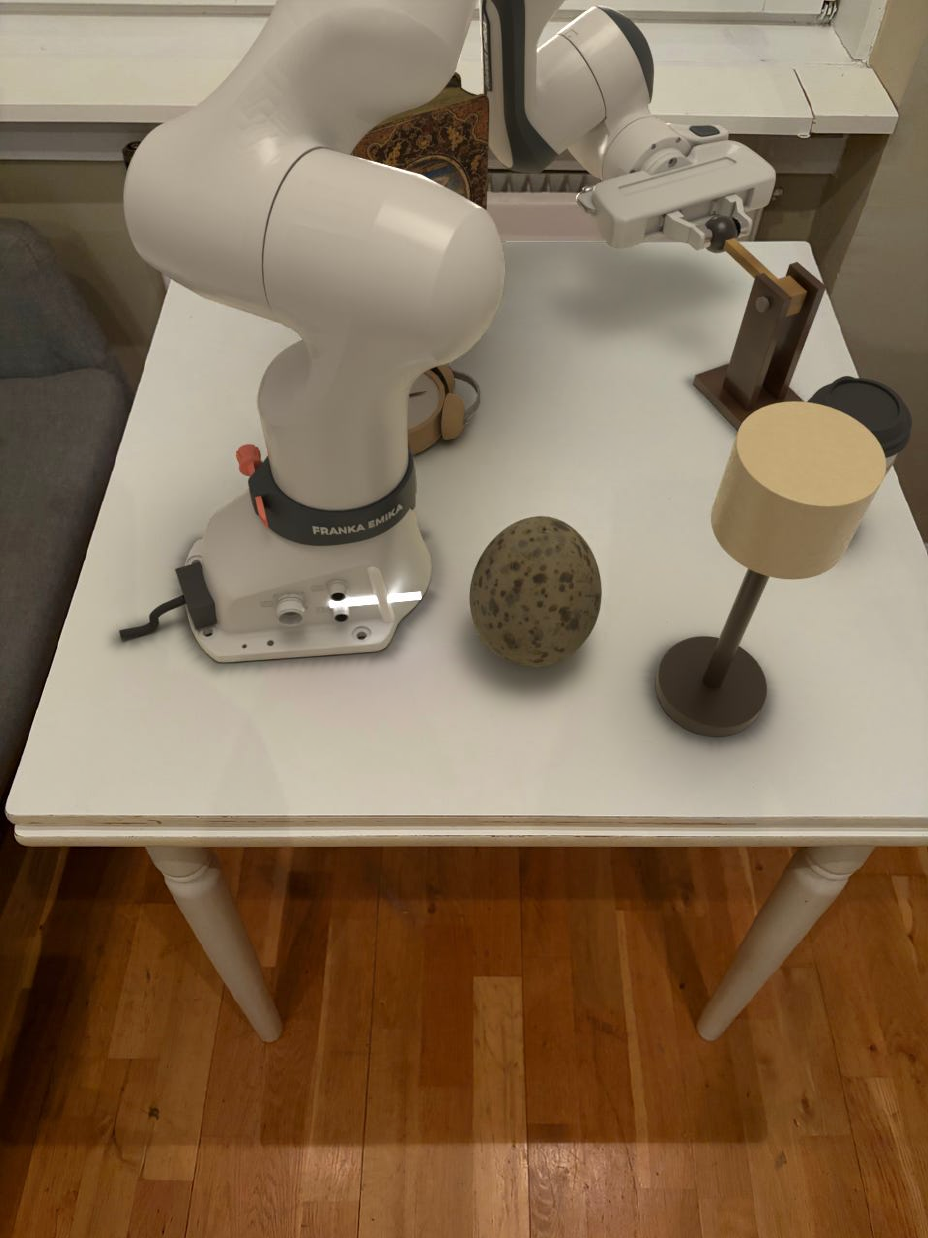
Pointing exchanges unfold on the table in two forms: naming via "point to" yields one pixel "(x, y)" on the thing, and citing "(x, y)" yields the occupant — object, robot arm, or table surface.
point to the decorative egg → (536, 592)
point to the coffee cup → (870, 411)
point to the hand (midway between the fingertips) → (726, 236)
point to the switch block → (764, 349)
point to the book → (438, 141)
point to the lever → (750, 259)
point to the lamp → (771, 546)
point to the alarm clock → (437, 407)
